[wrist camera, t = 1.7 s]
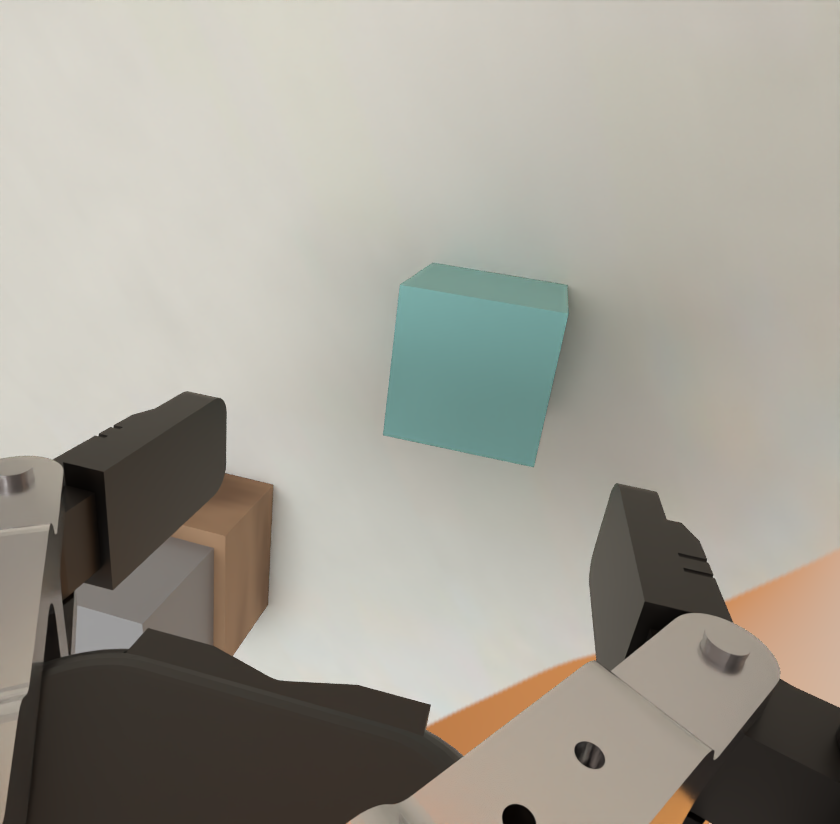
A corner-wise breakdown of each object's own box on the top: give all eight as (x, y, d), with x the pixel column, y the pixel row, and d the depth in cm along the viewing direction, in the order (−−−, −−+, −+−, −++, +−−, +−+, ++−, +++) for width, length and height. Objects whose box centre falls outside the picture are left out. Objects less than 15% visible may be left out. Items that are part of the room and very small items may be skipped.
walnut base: (274, 482, 28) (225, 535, 24) (269, 602, 30) (224, 668, 26) (138, 450, 29) (68, 495, 25) (145, 568, 32) (83, 627, 27)
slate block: (213, 547, 24) (142, 623, 20) (213, 660, 26) (149, 749, 22) (81, 512, 25) (-14, 578, 21) (92, 624, 27) (8, 703, 23)
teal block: (567, 284, 22) (568, 313, 17) (539, 411, 24) (533, 467, 19) (432, 262, 22) (400, 284, 18) (416, 386, 24) (383, 435, 20)
